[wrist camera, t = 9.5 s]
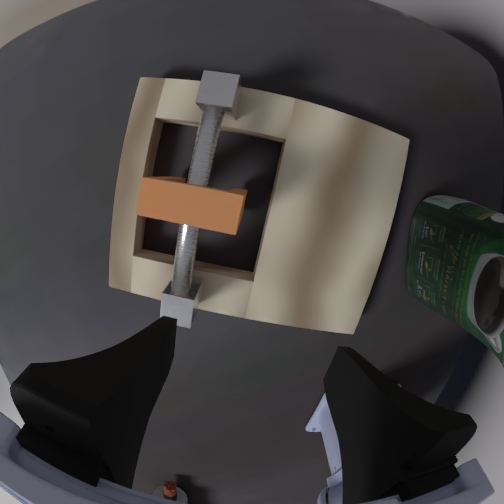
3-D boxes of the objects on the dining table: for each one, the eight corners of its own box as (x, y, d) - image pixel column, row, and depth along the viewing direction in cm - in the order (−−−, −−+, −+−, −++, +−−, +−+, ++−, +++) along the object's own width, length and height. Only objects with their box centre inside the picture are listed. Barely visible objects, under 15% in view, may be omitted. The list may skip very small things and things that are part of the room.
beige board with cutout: (397, 141, 18) (409, 139, 16) (345, 322, 23) (353, 334, 21) (149, 85, 17) (140, 77, 15) (119, 277, 21) (108, 286, 19)
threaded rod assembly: (241, 93, 16) (239, 75, 12) (199, 302, 20) (190, 328, 16) (212, 89, 16) (203, 70, 12) (173, 297, 20) (159, 320, 16)
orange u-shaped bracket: (247, 190, 19) (244, 195, 13) (241, 217, 19) (235, 235, 14) (174, 176, 19) (141, 177, 13) (169, 203, 19) (135, 214, 13)
